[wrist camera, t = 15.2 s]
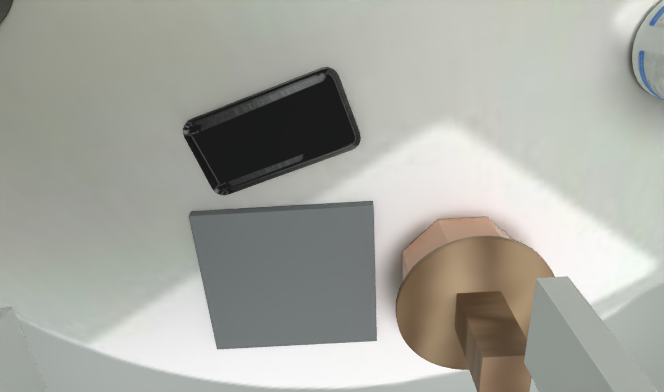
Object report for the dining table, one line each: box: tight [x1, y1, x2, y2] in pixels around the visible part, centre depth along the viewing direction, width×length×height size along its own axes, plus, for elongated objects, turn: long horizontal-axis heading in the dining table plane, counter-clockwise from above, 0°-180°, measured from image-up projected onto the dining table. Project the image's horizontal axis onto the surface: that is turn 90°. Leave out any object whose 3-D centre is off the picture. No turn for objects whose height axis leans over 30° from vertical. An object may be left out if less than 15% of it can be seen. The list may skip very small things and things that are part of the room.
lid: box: [396, 236, 555, 392], centre depth 41 cm, size 15×15×9 cm
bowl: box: [402, 217, 511, 282], centre depth 48 cm, size 12×12×6 cm
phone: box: [183, 67, 361, 195], centre depth 44 cm, size 8×1×15 cm
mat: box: [189, 201, 377, 349], centre depth 50 cm, size 18×17×1 cm
